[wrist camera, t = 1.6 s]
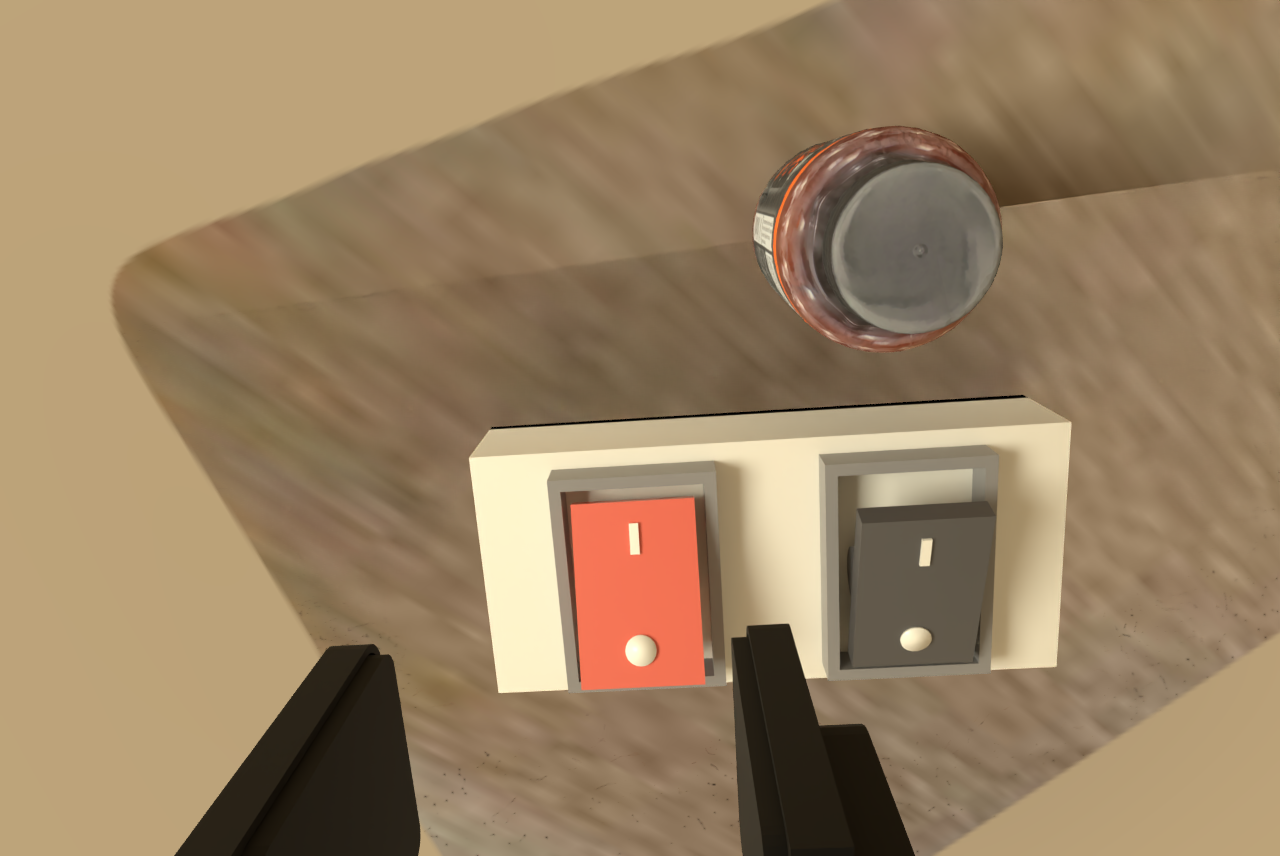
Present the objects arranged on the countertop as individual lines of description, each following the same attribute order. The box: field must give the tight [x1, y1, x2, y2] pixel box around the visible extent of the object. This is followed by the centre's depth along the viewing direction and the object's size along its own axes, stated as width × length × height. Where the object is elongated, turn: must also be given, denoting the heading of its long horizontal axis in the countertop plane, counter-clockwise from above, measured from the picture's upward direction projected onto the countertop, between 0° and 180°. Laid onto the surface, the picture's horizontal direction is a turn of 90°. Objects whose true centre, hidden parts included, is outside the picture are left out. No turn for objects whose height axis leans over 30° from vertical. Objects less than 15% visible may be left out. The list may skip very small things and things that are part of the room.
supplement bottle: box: [752, 126, 1003, 352], centre depth 26 cm, size 6×6×11 cm
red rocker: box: [570, 496, 705, 690], centre depth 29 cm, size 4×6×2 cm, turn 4°
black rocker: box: [847, 501, 996, 667], centre depth 29 cm, size 4×6×2 cm, turn 4°
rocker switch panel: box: [469, 395, 1071, 693], centre depth 31 cm, size 20×9×5 cm, turn 94°
